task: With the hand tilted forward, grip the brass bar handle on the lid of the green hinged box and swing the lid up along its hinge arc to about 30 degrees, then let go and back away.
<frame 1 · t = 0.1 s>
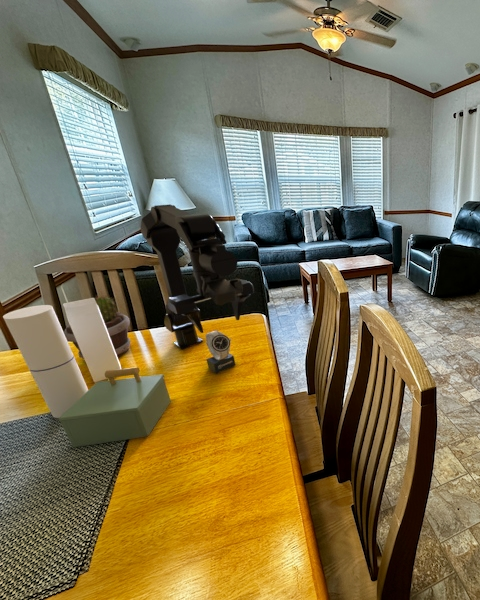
hand: (220, 326, 85), 15 cm above the table, tool pointing down, fingers open, 9 cm apart
lid: (113, 388, 70), point 9 cm above the table, hinge at 0.0°
watch: (222, 367, 94), on the table
flowerpot: (108, 354, 100), on the table
cylindrical container: (73, 408, 78), on the table
milk: (108, 374, 91), on the table
green hinged box: (126, 422, 73), on the table
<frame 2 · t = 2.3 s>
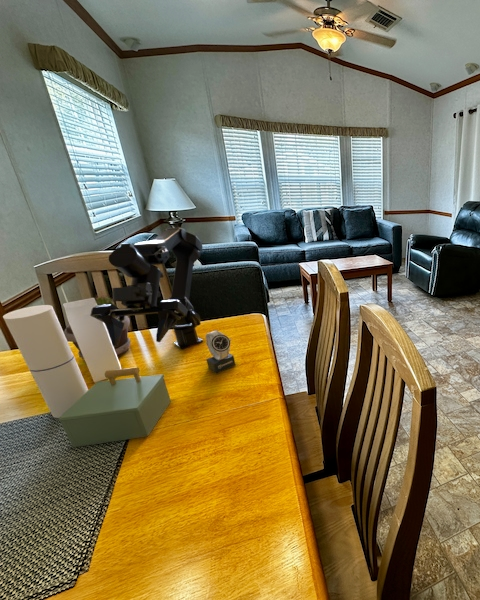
hand: (136, 343, 79), 13 cm above the table, tool tilted 45°, fingers open, 9 cm apart
nothing on the table moved.
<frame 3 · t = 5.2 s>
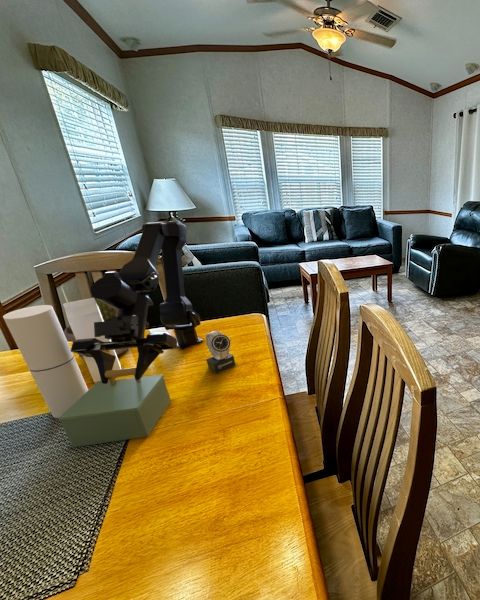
hand: (120, 381, 72), 9 cm above the table, tool tilted 45°, fingers closed on lid, 6 cm apart
lid: (113, 388, 70), point 9 cm above the table, hinge at 0.0°, touching gripper
everything else where it was.
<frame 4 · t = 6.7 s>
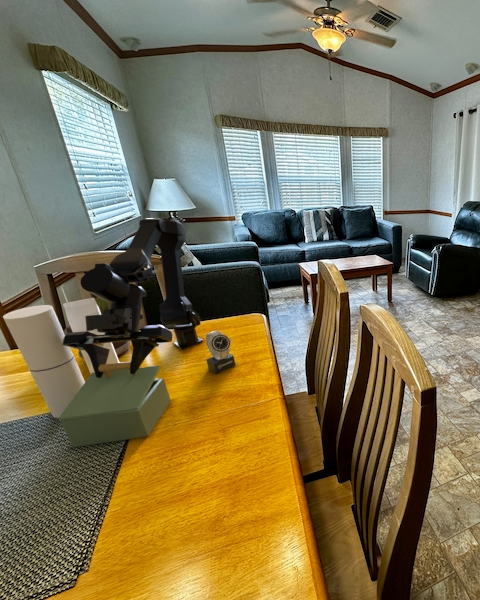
hand: (115, 375, 71), 11 cm above the table, tool tilted 40°, fingers closed on lid, 6 cm apart
lid: (110, 384, 69), point 10 cm above the table, hinge at 13.0°, touching gripper
everything else where it was.
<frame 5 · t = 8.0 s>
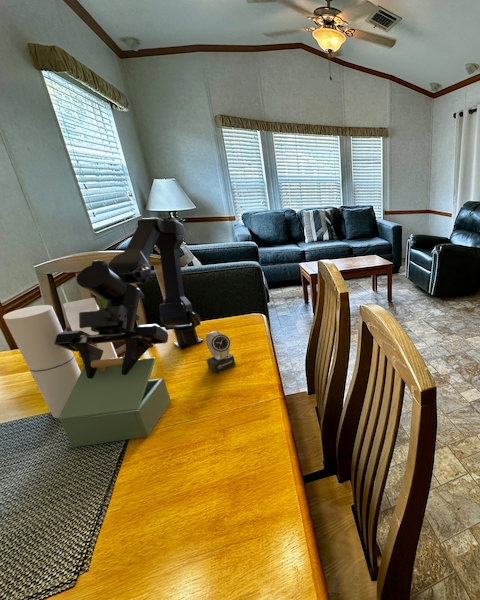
hand: (106, 376, 68), 12 cm above the table, tool tilted 45°, fingers closed on lid, 6 cm apart
lid: (105, 382, 68), point 12 cm above the table, hinge at 26.6°, touching gripper
everything else where it was.
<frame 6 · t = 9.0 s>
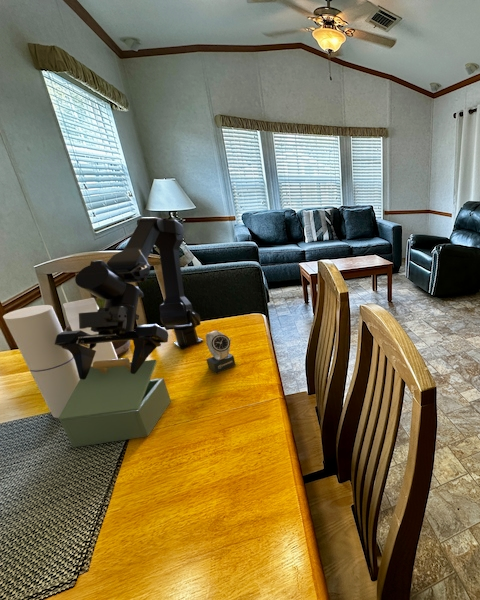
hand: (107, 376, 68), 12 cm above the table, tool tilted 45°, fingers open, 9 cm apart
lid: (107, 383, 68), point 11 cm above the table, hinge at 23.0°
everything else where it was.
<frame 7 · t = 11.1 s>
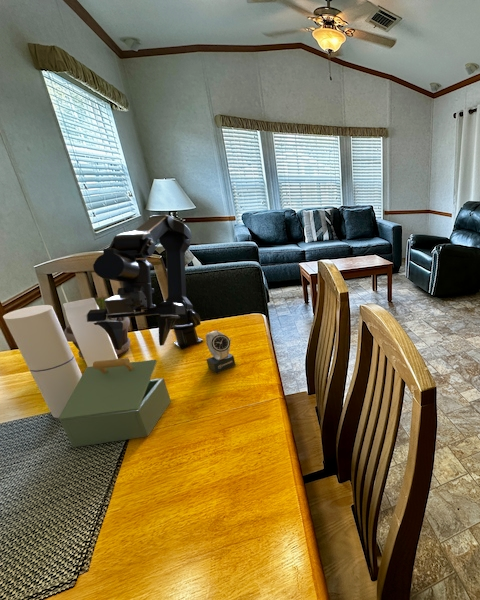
hand: (140, 347, 80), 12 cm above the table, tool tilted 25°, fingers open, 9 cm apart
nothing on the table moved.
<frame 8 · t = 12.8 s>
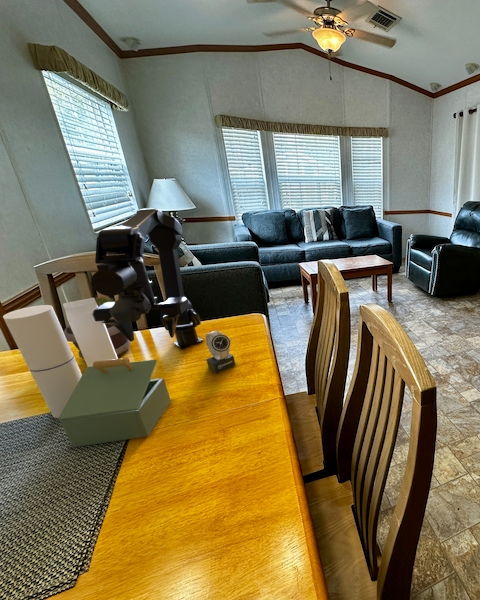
hand: (152, 338, 84), 12 cm above the table, tool pointing down, fingers open, 9 cm apart
nothing on the table moved.
at the end: lid at +23° (first picture: +0°); the gripper is holding nothing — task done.
